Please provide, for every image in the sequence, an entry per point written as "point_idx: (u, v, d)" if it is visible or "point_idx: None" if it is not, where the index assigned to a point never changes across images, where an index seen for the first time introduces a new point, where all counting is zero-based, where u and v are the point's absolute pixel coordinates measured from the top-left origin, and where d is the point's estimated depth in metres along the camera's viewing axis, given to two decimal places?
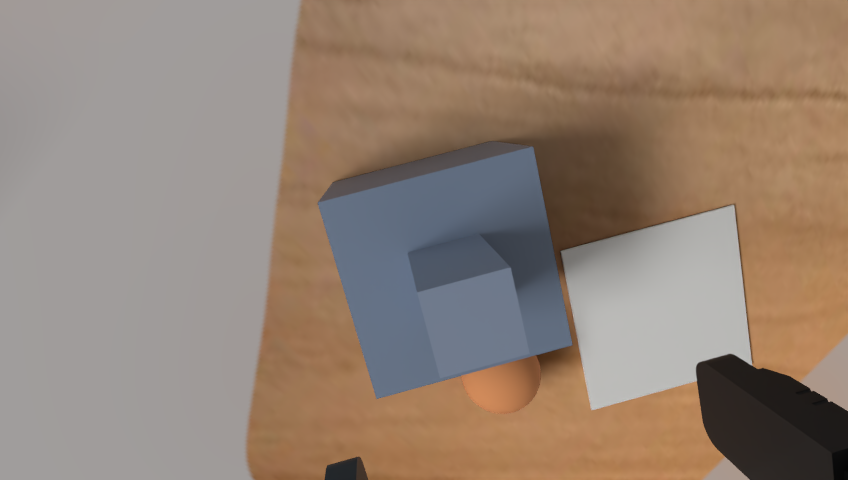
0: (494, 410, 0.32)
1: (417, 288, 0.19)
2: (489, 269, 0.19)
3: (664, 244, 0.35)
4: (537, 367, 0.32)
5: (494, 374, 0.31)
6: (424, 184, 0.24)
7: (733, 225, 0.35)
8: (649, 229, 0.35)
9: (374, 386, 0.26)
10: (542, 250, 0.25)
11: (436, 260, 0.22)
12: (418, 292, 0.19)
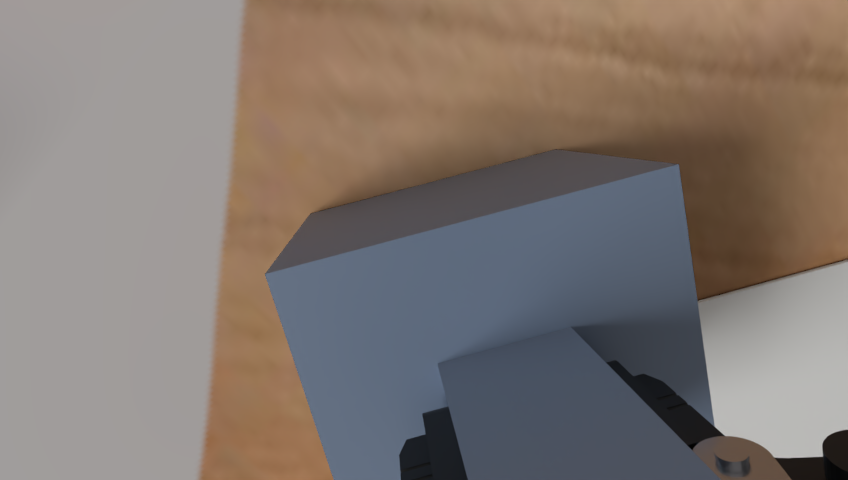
0: None
1: None
2: (662, 478, 0.08)
3: (806, 302, 0.23)
4: None
5: None
6: (471, 237, 0.13)
7: None
8: (786, 280, 0.23)
9: None
10: (684, 354, 0.14)
11: (505, 404, 0.11)
12: None
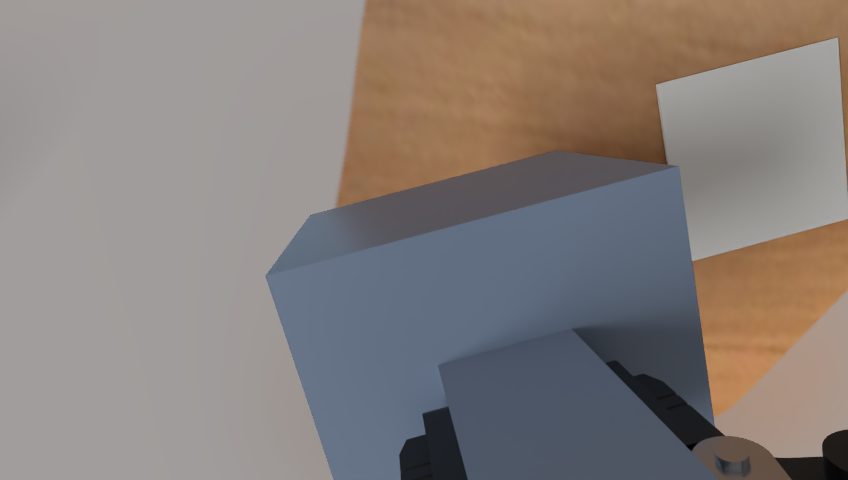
0: None
1: None
2: None
3: (763, 79, 0.33)
4: None
5: None
6: (471, 239, 0.13)
7: (836, 60, 0.33)
8: (749, 62, 0.33)
9: None
10: (684, 355, 0.14)
11: (505, 405, 0.11)
12: None
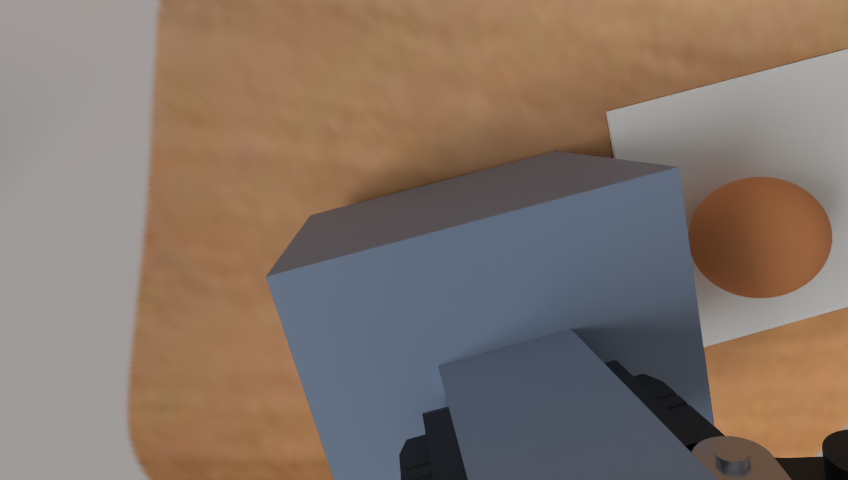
0: None
1: None
2: None
3: (763, 104, 0.23)
4: (716, 244, 0.21)
5: None
6: (471, 240, 0.13)
7: None
8: (742, 79, 0.23)
9: None
10: (684, 356, 0.14)
11: (505, 406, 0.11)
12: None
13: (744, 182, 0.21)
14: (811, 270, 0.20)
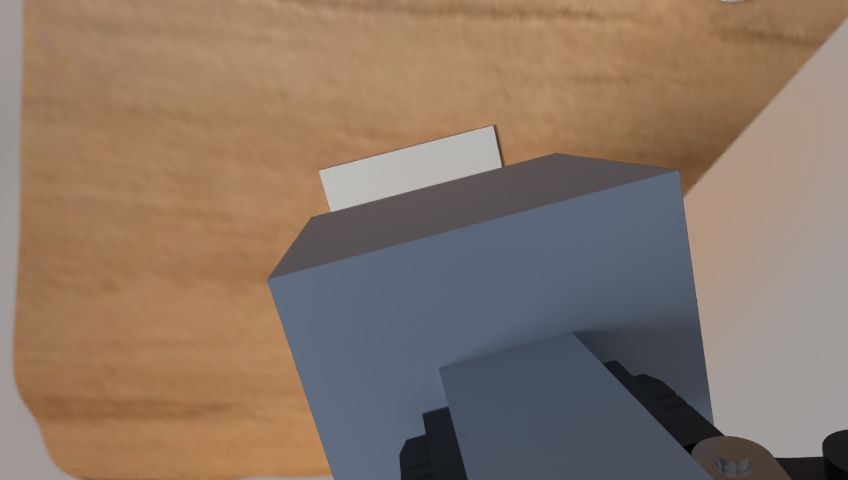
0: None
1: None
2: None
3: (424, 165, 0.35)
4: None
5: None
6: (472, 243, 0.13)
7: (494, 146, 0.35)
8: (407, 149, 0.35)
9: None
10: (684, 358, 0.14)
11: (507, 410, 0.11)
12: None
13: None
14: None
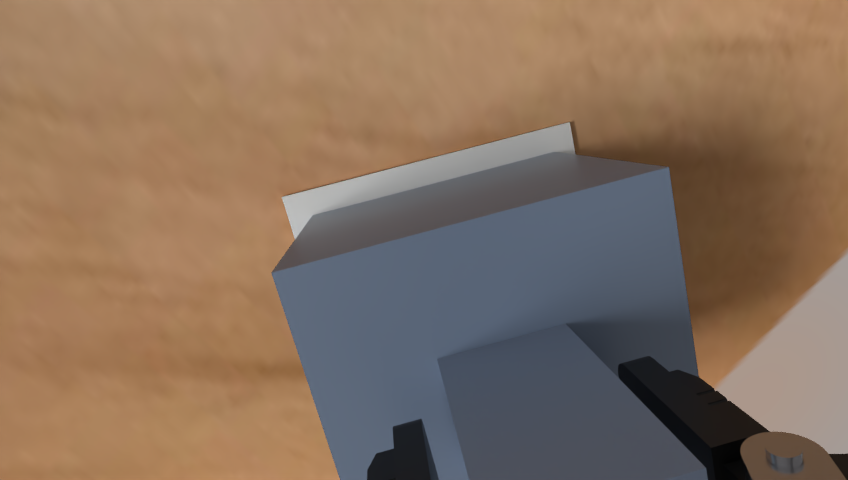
0: None
1: None
2: (648, 462, 0.08)
3: None
4: None
5: None
6: (469, 237, 0.13)
7: None
8: (429, 161, 0.21)
9: None
10: (675, 350, 0.14)
11: (502, 396, 0.11)
12: None
13: None
14: None
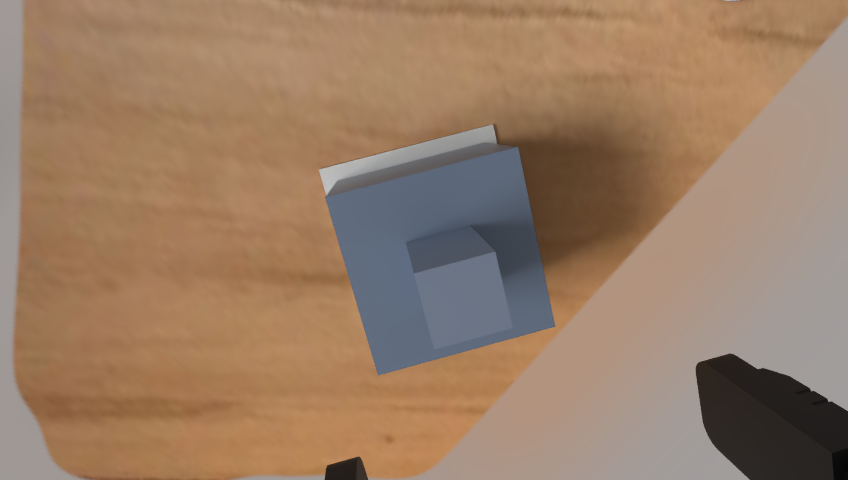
0: None
1: (414, 270, 0.22)
2: (477, 253, 0.22)
3: None
4: None
5: None
6: (420, 181, 0.27)
7: None
8: (407, 148, 0.35)
9: (376, 363, 0.29)
10: (527, 240, 0.28)
11: (431, 247, 0.25)
12: (415, 273, 0.22)
13: None
14: None
